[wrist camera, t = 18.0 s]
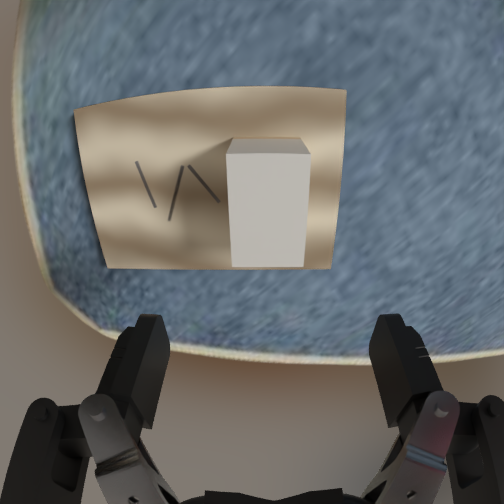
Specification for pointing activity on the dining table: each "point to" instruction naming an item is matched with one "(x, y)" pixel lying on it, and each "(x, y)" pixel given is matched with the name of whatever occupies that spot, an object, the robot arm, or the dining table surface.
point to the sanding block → (268, 200)
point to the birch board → (200, 170)
